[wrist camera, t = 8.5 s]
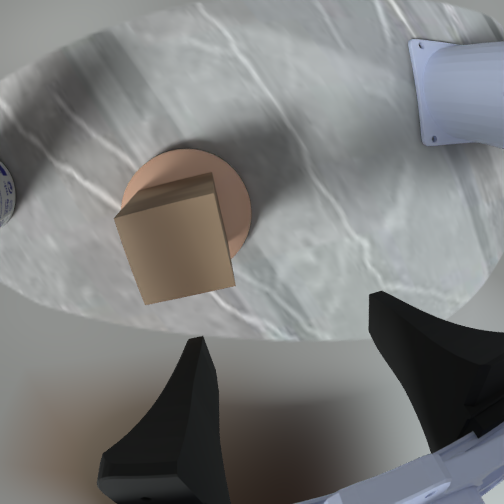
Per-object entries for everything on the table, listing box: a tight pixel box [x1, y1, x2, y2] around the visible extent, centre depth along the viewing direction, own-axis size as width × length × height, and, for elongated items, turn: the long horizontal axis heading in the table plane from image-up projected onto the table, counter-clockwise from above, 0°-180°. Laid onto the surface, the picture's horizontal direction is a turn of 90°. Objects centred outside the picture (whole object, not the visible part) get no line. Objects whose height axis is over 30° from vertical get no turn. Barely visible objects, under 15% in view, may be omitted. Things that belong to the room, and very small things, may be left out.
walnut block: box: [114, 172, 236, 305], centre depth 17 cm, size 4×4×6 cm
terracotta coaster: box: [121, 148, 251, 259], centre depth 20 cm, size 8×8×1 cm
